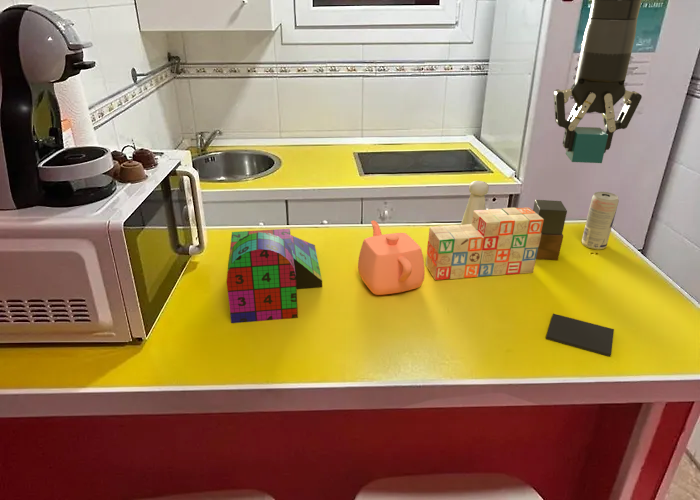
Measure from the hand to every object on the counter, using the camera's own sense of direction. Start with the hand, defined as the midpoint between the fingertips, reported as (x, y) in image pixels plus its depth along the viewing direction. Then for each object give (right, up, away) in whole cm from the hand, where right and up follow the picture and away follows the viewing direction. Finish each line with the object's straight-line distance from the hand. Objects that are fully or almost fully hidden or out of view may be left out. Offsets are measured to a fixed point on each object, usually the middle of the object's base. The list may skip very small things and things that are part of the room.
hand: (585, 150), depth 92 cm
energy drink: (+14, -17, +27) cm, 35 cm away
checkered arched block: (-56, -24, +11) cm, 62 cm away
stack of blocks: (-15, -22, +16) cm, 31 cm away
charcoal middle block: (+1, -13, +20) cm, 24 cm away
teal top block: (0, -1, +1) cm, 1 cm away
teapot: (-34, -24, +12) cm, 43 cm away
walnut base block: (+1, -18, +23) cm, 29 cm away
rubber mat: (-3, -32, -3) cm, 32 cm away
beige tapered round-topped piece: (-13, -14, +31) cm, 37 cm away
